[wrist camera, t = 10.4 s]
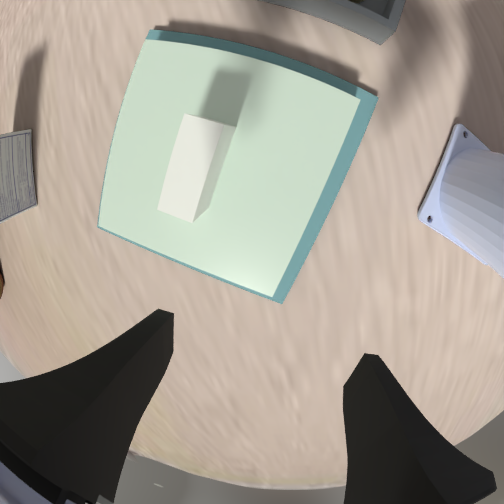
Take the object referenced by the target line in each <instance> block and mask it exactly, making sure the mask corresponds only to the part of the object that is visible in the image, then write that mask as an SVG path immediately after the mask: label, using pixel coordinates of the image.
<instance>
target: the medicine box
mask: <svg viewBox="0 0 504 504" xmlns="http://www.w3.org/2000/svg"><path fill="white" fill-rule="evenodd" d="M31 132H32V130H31V129H28V130H22V131H17V132H11V133H6V134H1V135H0V224H1V223H3V222H4V221H6V220H8V219H10V218H12V217H14V216H16V215H18V214H20V213H22V212H25V211H27V210H29V209H31V208H34V207H36V206H37V201H36V194H35V185H34V176H33V163H32V142H31Z"/></svg>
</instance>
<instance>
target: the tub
mask: <svg viewBox="0 0 504 504" xmlns="http://www.w3.org/2000/svg"><path fill="white" fill-rule="evenodd" d="M259 1H263V2H268V3H272V4H276V5H280V6H283V7H287V8H290V9H294V10H297V11H300V12H303V13H306V14H309V15H312V16H315V17H318V18H321V19H323V20H326V21H328V22H331V23H334V24H336V25H338V26H341V27H343V28H346V29H348V30H350V31H352V32H355V33H357V34H359V35H361V36H363V37H365V38H367V39H369V40H371V41H373V42H375V43H377V44H379V45H381V44H382V43H383V42H384V41H385V40H387V39H388V38H389V37H390V36H391V35H392V34H393V33H394V32H395V31H396V29H397V26H398V23H399V20H400V16H401V13H402V10H403V7H404V4H405V1H406V0H364V1H363V2H360V3H353V2H351V1H348V0H259Z"/></svg>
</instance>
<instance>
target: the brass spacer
mask: <svg viewBox="0 0 504 504" xmlns="http://www.w3.org/2000/svg"><path fill="white" fill-rule="evenodd" d="M348 1H351V2H353V3H360V2H363V1H364V0H348Z"/></svg>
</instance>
